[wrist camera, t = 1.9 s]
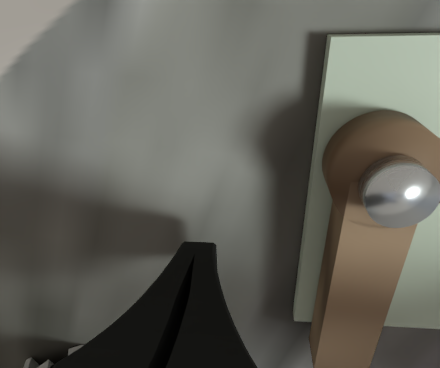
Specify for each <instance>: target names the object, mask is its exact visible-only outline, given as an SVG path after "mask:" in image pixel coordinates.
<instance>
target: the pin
mask: <svg viewBox="0 0 440 368" xmlns="http://www.w3.org/2000/svg"><path fill="white" fill-rule="evenodd" d="M358 194H359V196H360V199H361V201H362V202H363V204H364V206H365V208H366V210H367V212H368V214H369V216H370V217H371V218H372V220H374V221H375V222H376V223H378V224H380V225H382V226H385V227H389V228H403V227H408V226H412V225H414V224H417V223H419V222H421V221H423V220H424V219H426V218H427V217H428V216H430V215H431V214H432V213H433V211H434V210H435V209H436V208H437V206H438V204H439V202H440V184H439V182H438V180H437V179H436V178H435V177H434V176H433V175H432V174H431V173H430V172H429V171H428V169H427V168H426V167H425V166H424V165H423V164H422V163H421V162H420V161H418V160H417V159H415V158H413V157H411V156H407V155H391V156H387V157H384V158H381V159H379V160H377V161H375V162H374V163H372V164H371V165H370V166H369V167H368V168H367V169H366V170H365V171H364V172H363V174H362V175H361V177H360V179H359V183H358Z"/></svg>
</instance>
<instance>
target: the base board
mask: <svg viewBox="0 0 440 368" xmlns="http://www.w3.org/2000/svg"><path fill="white" fill-rule="evenodd" d="M378 110H393V111H398V112H402V113H405V114H408V115H409V116H411V117H413V118H414V119H416V120H417V121H418V122H420V123H421V124H422V125H424V126H425V127H426V128H427V129H429V130H430V131H431V132H432V133H434V134H435V135H436V136H437V137H439V138H440V33H391V34H329V35H327V42H326V50H325V58H324V66H323V74H322V82H321V90H320V98H319V106H318V114H317V122H316V130H315V138H314V146H313V154H312V162H311V170H310V178H309V186H308V194H307V202H306V210H305V218H304V226H303V234H302V242H301V250H300V258H299V266H298V274H297V282H296V290H295V298H294V306H293V316H294V321H300V322H312V318H313V312H314V306H315V300H316V294H317V288H318V283H319V277H320V271H321V265H322V259H323V253H324V247H325V242H326V236H327V230H328V224H329V218H330V212H331V206H332V201H333V200H332V197H331V194H330V192H329V189H328V186H327V184H326V181H325V178H324V176H323V172H322V158H323V153H324V151H325V148H326V146H327V144H328V142H329V140H330V139H331V137H332V136H333V135H334V134H335V133H336V131H337V130H338V129H339V128H341V127H342V126H343V125H344V124H346V123H347V122H348V121H350V120H352V119H354V118H355V117H357V116H360V115H362V114H365V113H369V112H373V111H378ZM384 326H390V327H408V328H426V329H440V203H439V204H438V206H437V208H436V209H435V210H434V211H433V213H432V214H431V215H430V216H428V217H427V218H426V219H424V220H423V221H421V222H419V223H418V224H417V227H416V230H415V233H414V236H413V239H412V242H411V245H410V248H409V251H408V254H407V257H406V260H405V263H404V266H403V269H402V272H401V275H400V278H399V281H398V284H397V287H396V290H395V293H394V296H393V299H392V302H391V305H390V308H389V311H388V314H387V317H386V320H385V323H384Z"/></svg>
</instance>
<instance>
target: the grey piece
mask: <svg viewBox="0 0 440 368" xmlns="http://www.w3.org/2000/svg"><path fill="white" fill-rule="evenodd" d="M82 346H84V345H79V346H76V347H73V348H70V349H69V350H68V355H70V354H71V353H73V352H75V351H76V350H78V349H79V348H81V347H82ZM54 365H55V364H53V363H52V362H51V361H50V360H47V361H46V362H44V363H43V364H42V365H39V364H38V363H37V362H36V361H35V360H34V359H33V358H29V359H27V360H26V361H25V364H24V367H23V368H53V367H54Z"/></svg>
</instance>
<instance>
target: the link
mask: <svg viewBox="0 0 440 368" xmlns="http://www.w3.org/2000/svg"><path fill="white" fill-rule="evenodd" d="M391 155H407V156H411V157H413V158H415V159H417V160H418V161H420V162H421V163H422V164H423V165H424V166H425V167H426V168H427V169H428V171H429V172H430V173H431V174H432V175H433V176H434V177H435V178H436V179H437V180H438V182H439V184H440V138H439V137H437V136H436V135H435V134H434V133H432V132H431V131H430V130H429V129H427V128H426V127H425V126H424V125H422V124H421V123H420V122H418V121H417V120H416V119H414V118H413V117H411V116H409V115H408V114H405V113H402V112H398V111H393V110H378V111H373V112H369V113H365V114H362V115H360V116H357V117H355V118H354V119H352V120H350V121H348V122H347V123H346V124H344V125H343V126H342V127H341V128H339V129H338V130H337V131H336V133H335V134H334V135H333V136H332V137H331V139H330V140H329V142H328V144H327V146H326V148H325V151H324V153H323V158H322V172H323V176H324V178H325V181H326V184H327V186H328V189H329V192H330V194H331V197H332V200H333V201H332V206H331V212H330V218H329V224H328V230H327V236H326V242H325V247H324V253H323V259H322V265H321V271H320V277H319V283H318V288H317V294H316V300H315V306H314V312H313V318H312V324H311V330H310V335H309V342H310V348H311V354H312V361H313V367H314V368H369V367H370V364H371V361H372V358H373V355H374V352H375V349H376V346H377V343H378V341H379V338H380V335H381V332H382V329H383V326H384V323H385V320H386V317H387V314H388V311H389V308H390V305H391V302H392V299H393V296H394V293H395V290H396V287H397V284H398V281H399V278H400V275H401V272H402V269H403V266H404V263H405V260H406V257H407V254H408V251H409V248H410V245H411V242H412V239H413V236H414V233H415V230H416V227H417V224H418V223H417V224H414V225H412V226H408V227H403V228H389V227H385V226H382V225H380V224H378V223H376V222H375V221H374V220H372V218H371V217H370V216H369V214H368V212H367V210H366V208H365V206H364V204H363V202H362V201H361V199H360V196H359V194H358V183H359V179H360V177H361V175H362V174H363V172H364V171H365V170H366V169H367V168H368V167H369V166H370V165H371V164H372V163H374V162H375V161H377V160H379V159H381V158H384V157H387V156H391ZM439 203H440V202H439Z"/></svg>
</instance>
